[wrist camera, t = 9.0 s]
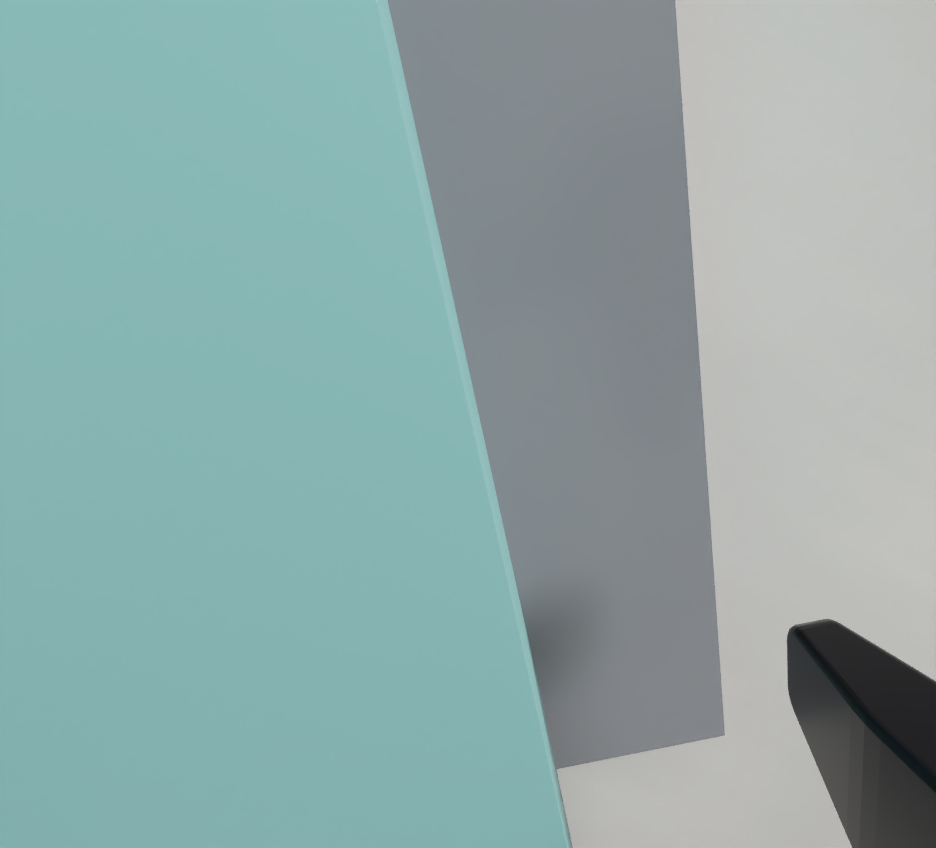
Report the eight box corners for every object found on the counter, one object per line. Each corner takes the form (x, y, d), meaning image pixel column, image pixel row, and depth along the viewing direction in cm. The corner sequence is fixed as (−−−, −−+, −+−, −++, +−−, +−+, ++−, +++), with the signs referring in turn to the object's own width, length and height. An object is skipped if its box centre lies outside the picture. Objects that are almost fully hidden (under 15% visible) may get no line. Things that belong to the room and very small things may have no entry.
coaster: (706, 694, 13) (724, 735, 12) (147, 807, 13) (134, 853, 12) (604, -585, 6) (630, -660, 6) (-495, -332, 7) (-603, -372, 6)
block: (543, 709, 12) (633, 1143, 7) (268, 764, 12) (190, 1230, 7) (291, -434, 6) (17, -1583, 2) (-225, -309, 6) (-1772, -1086, 2)
